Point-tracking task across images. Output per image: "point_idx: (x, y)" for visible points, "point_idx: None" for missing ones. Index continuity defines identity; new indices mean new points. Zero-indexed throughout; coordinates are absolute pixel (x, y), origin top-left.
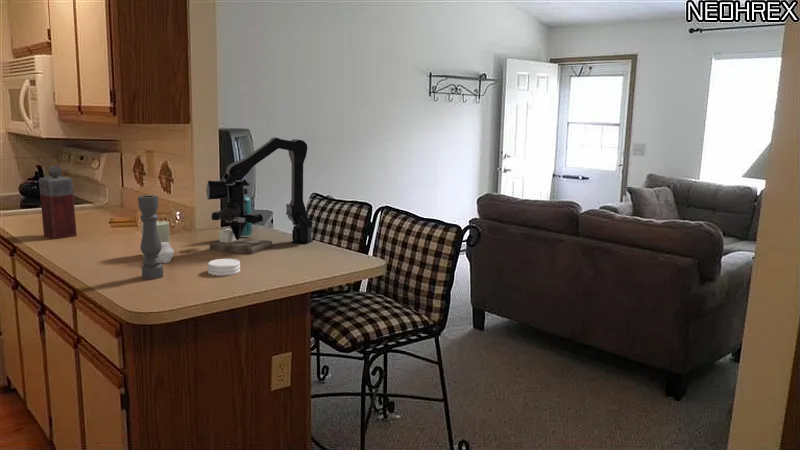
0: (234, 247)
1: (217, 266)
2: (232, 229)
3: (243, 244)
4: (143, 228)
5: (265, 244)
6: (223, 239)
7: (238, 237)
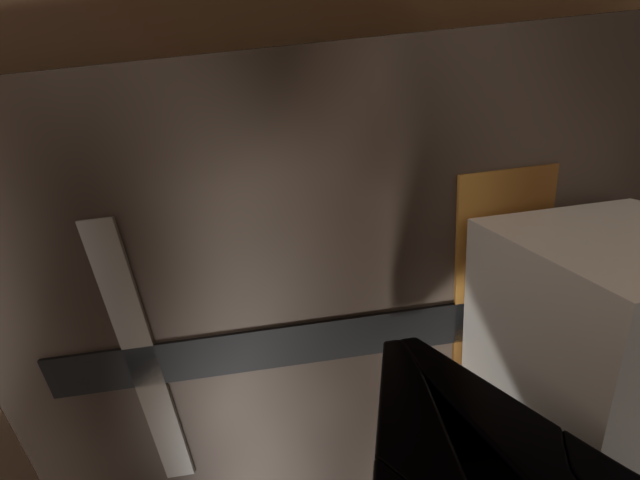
0: (222, 53)
1: None
2: (611, 472)
3: (225, 269)
4: None
5: (29, 433)
6: (598, 220)
7: (381, 370)
